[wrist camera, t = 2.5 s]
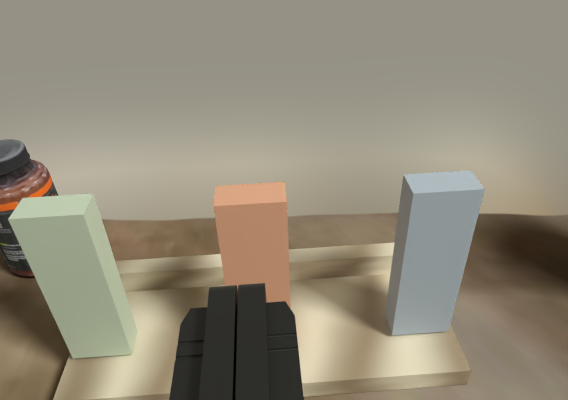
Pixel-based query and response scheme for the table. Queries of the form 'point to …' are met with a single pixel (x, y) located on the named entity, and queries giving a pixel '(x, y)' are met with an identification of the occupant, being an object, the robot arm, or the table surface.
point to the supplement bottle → (18, 197)
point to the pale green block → (76, 273)
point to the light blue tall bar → (431, 249)
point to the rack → (309, 325)
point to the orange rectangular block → (254, 236)
